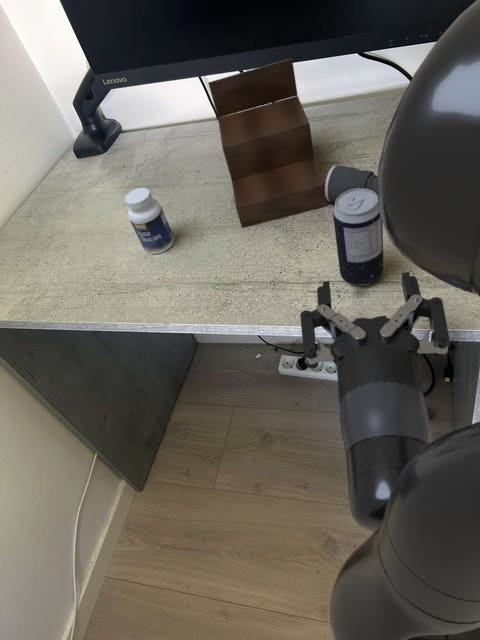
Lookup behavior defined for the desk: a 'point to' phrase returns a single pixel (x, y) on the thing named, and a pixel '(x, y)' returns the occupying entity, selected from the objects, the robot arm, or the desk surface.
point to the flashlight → (348, 181)
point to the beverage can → (359, 236)
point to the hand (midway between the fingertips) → (365, 282)
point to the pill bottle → (149, 221)
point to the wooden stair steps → (267, 144)
